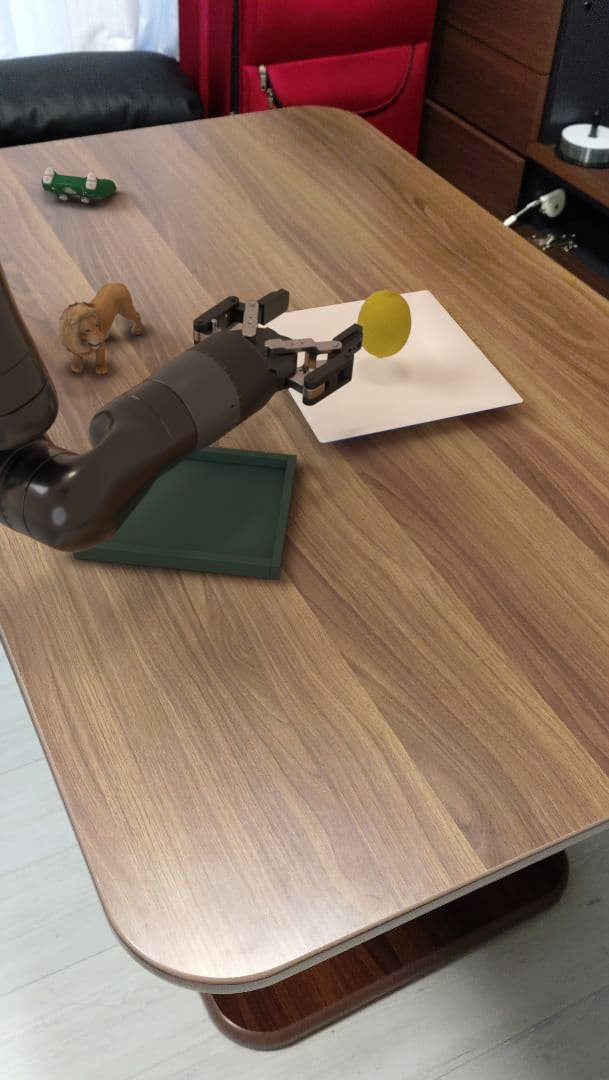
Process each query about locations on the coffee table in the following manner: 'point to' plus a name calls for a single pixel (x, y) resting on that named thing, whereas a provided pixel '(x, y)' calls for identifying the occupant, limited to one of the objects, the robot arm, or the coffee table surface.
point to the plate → (398, 373)
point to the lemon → (385, 323)
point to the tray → (210, 516)
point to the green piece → (77, 186)
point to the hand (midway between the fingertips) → (321, 315)
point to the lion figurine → (96, 324)
